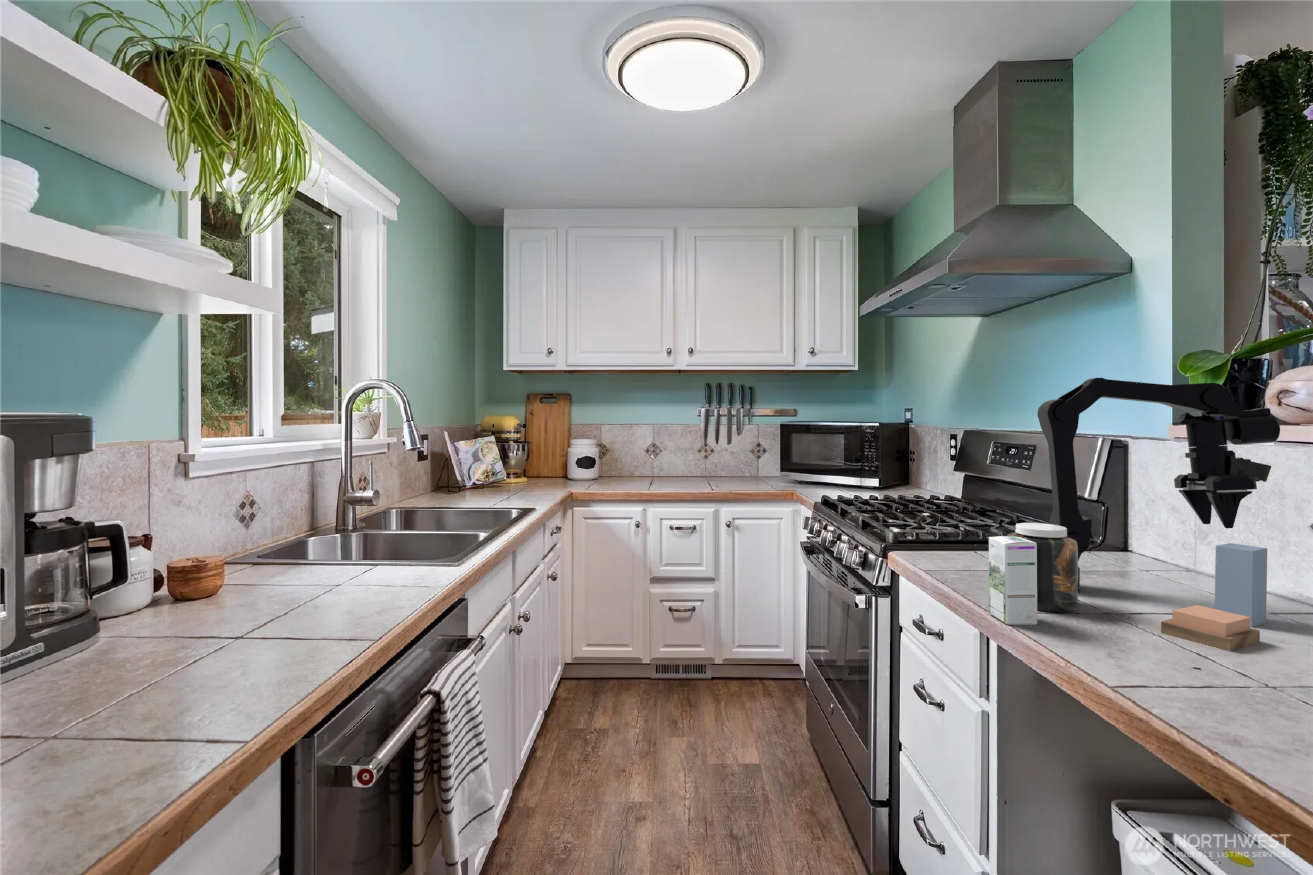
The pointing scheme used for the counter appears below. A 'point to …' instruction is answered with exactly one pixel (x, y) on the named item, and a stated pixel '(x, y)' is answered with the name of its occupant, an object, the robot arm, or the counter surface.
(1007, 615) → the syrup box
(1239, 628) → the terracotta block
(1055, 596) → the jar
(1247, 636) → the walnut block
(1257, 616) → the slate blue block
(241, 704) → the counter surface
